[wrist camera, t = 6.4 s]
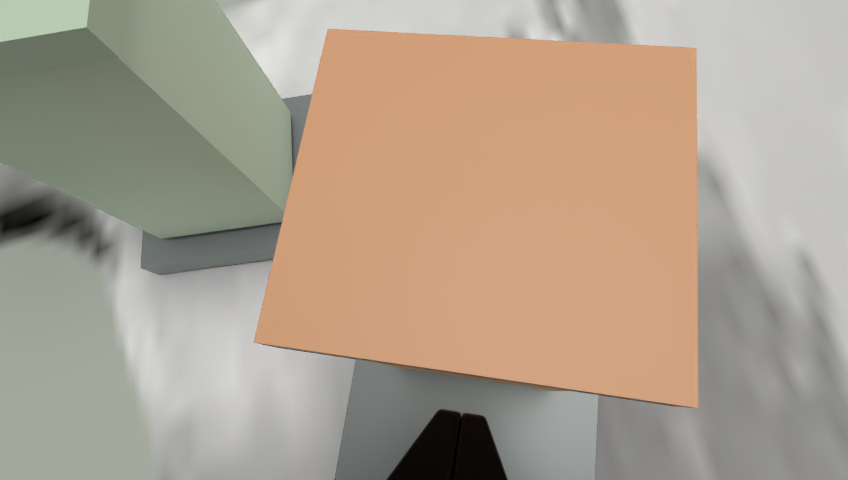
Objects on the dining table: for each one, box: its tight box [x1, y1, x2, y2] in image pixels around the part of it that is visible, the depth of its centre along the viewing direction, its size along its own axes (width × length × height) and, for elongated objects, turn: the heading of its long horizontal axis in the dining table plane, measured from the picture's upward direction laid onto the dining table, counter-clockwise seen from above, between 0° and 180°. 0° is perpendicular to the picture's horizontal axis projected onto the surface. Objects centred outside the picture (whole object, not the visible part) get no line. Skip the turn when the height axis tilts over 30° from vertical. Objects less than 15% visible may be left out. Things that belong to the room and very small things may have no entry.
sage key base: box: [141, 94, 312, 275], centre depth 18 cm, size 6×6×1 cm
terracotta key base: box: [335, 359, 598, 480], centre depth 15 cm, size 9×7×1 cm
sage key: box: [0, 0, 293, 239], centre depth 12 cm, size 4×5×9 cm
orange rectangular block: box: [254, 29, 698, 408], centre depth 10 cm, size 4×5×9 cm
